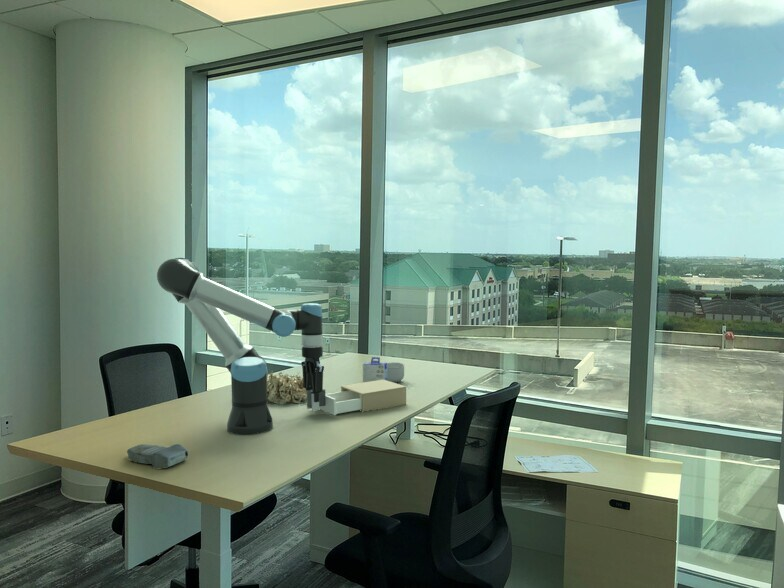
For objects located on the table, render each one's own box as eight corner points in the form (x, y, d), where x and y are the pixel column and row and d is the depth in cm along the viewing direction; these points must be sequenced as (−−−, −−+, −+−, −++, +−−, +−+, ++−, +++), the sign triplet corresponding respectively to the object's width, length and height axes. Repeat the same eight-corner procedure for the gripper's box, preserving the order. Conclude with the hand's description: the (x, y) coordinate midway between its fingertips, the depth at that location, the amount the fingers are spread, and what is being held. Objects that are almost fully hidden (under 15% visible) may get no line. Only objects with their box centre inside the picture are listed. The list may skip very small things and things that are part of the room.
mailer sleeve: (362, 412, 226) (362, 393, 226) (341, 403, 239) (341, 385, 239) (406, 404, 238) (406, 386, 237) (383, 396, 251) (383, 379, 250)
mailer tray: (319, 417, 216) (319, 395, 215) (299, 408, 229) (299, 387, 228) (380, 406, 231) (380, 385, 230) (358, 398, 244) (358, 378, 243)
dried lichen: (300, 408, 233) (299, 379, 232) (231, 402, 242) (231, 374, 241) (328, 393, 258) (328, 366, 257) (265, 388, 267) (265, 362, 267)
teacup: (409, 382, 277) (409, 364, 276) (389, 385, 271) (389, 367, 270) (391, 377, 288) (391, 360, 288) (372, 380, 282) (372, 363, 282)
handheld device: (140, 451, 184) (140, 436, 184) (192, 461, 176) (191, 445, 175) (114, 461, 175) (113, 446, 175) (166, 472, 167) (166, 456, 166)
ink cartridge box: (388, 390, 261) (387, 357, 260) (385, 393, 255) (385, 359, 254) (365, 389, 263) (365, 356, 262) (362, 392, 257) (362, 358, 256)
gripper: (332, 347, 217) (332, 412, 219) (311, 342, 230) (312, 403, 232) (313, 349, 213) (314, 415, 214) (293, 344, 226) (294, 406, 228)
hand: (313, 409), depth 223 cm, fingers closed on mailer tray, 3 cm apart
